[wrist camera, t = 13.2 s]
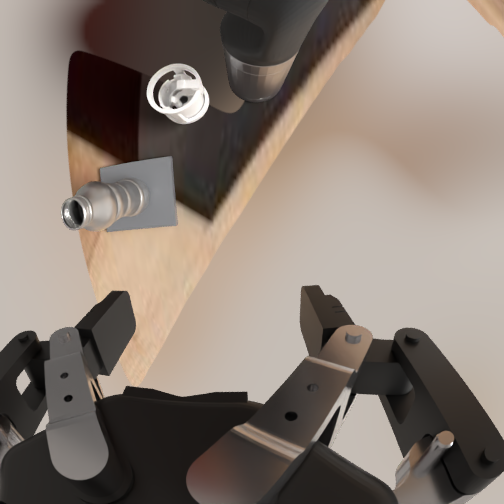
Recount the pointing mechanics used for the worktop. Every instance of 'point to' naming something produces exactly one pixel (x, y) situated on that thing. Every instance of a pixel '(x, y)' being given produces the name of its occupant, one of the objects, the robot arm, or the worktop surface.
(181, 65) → the white cylindrical piece
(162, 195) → the board
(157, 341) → the worktop surface
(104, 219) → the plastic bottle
